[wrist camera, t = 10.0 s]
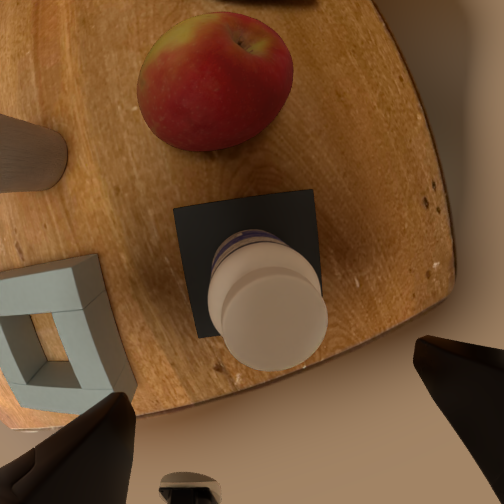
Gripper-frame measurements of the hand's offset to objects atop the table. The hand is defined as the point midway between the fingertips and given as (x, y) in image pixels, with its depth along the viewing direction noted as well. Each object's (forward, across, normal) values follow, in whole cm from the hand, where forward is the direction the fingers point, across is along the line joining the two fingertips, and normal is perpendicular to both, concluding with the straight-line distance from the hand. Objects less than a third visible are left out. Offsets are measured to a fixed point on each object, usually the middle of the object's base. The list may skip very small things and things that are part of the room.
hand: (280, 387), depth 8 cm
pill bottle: (+12, 0, 0) cm, 12 cm away
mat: (+12, -1, 0) cm, 12 cm away
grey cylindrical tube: (+12, +14, -10) cm, 21 cm away
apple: (+12, 0, -11) cm, 17 cm away
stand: (+12, +15, +3) cm, 20 cm away
